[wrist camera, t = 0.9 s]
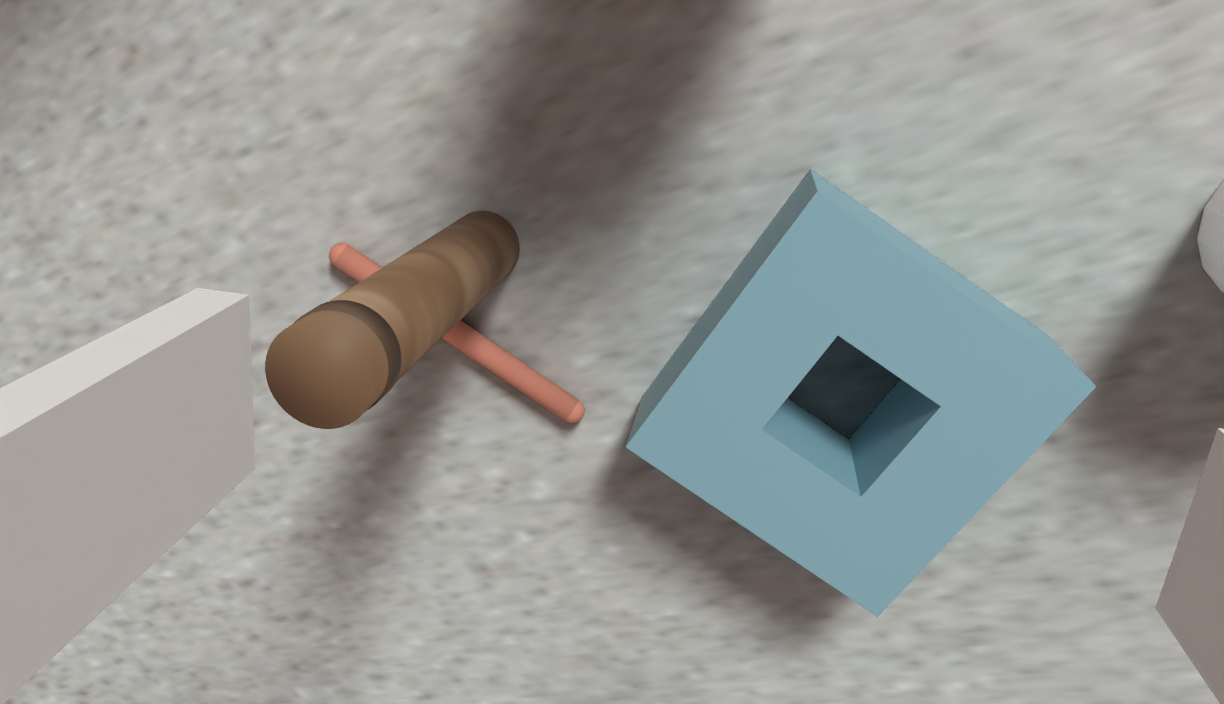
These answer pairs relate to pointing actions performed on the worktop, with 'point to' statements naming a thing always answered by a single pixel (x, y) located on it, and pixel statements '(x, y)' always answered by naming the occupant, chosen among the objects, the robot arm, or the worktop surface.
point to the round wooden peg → (386, 322)
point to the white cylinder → (1213, 238)
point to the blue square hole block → (892, 434)
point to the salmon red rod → (478, 347)
